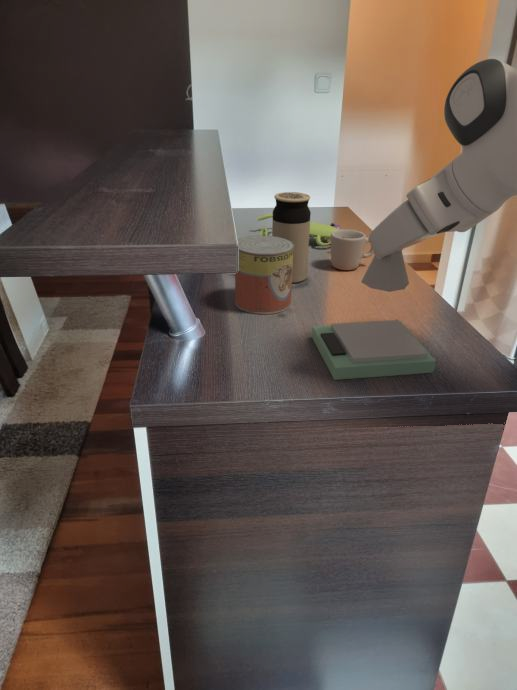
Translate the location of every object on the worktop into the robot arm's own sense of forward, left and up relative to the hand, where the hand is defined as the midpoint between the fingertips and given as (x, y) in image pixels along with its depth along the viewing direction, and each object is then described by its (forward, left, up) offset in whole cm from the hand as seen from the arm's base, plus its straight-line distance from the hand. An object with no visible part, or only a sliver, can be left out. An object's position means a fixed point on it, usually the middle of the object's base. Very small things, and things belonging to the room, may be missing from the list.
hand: (385, 251), depth 80 cm
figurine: (-1, -59, -16) cm, 61 cm away
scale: (+2, +4, -16) cm, 17 cm away
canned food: (+16, -19, -16) cm, 30 cm away
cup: (-8, -37, -16) cm, 42 cm away
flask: (0, +1, -6) cm, 6 cm away
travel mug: (+8, -32, -16) cm, 37 cm away
